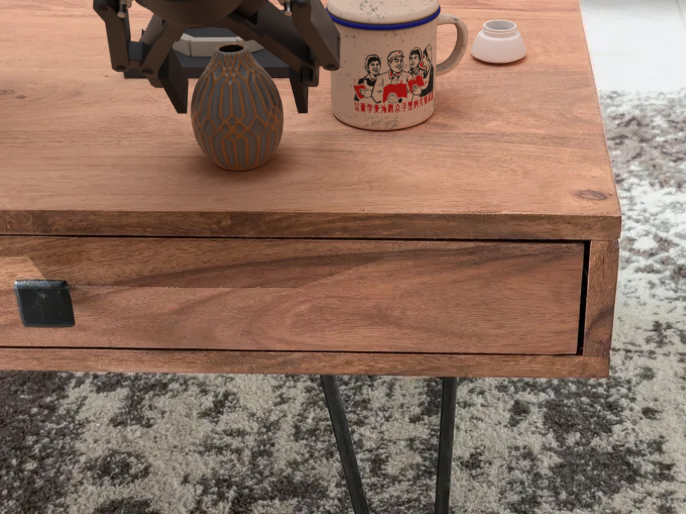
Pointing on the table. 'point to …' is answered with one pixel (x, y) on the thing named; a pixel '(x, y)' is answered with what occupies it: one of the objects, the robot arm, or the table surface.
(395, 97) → the teacup with lid
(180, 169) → the table surface
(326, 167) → the table surface
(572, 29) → the table surface
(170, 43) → the robot arm
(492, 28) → the white jar
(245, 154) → the vase
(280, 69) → the base pad
